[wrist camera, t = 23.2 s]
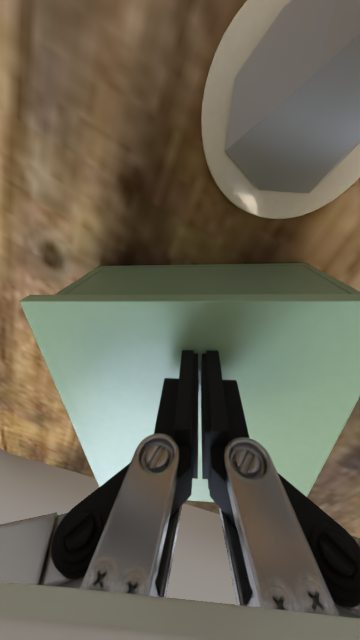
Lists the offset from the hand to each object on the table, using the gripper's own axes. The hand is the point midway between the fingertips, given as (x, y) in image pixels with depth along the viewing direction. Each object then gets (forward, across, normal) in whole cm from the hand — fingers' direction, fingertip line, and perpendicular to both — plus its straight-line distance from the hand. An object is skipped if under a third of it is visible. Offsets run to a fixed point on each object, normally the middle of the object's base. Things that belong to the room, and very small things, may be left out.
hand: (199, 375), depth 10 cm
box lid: (+1, 0, +5) cm, 5 cm away
